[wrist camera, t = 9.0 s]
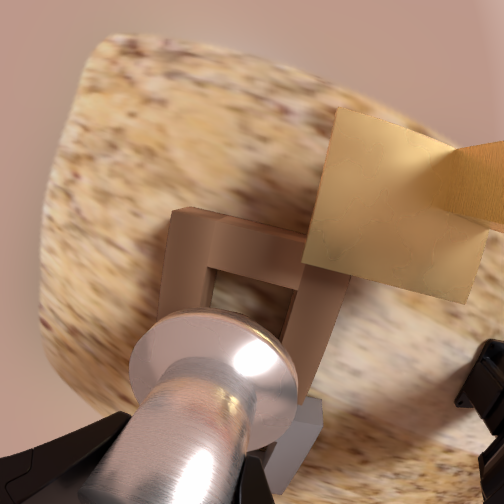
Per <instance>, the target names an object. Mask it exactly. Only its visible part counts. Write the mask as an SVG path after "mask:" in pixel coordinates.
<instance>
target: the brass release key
mask: <svg viewBox="0 0 504 504" xmlns="http://www.w3.org/2000/svg"><path fill="white" fill-rule="evenodd" d="M489 229H491V230H495V231H498V232H501V233H504V141H499V142H493V143H487V144H481V145H476V146H470V147H465V148H460V149H455V148H453V147H451V146H449V145H446V144H444V143H442V142H439V141H437V140H435V139H432V138H430V137H427V136H425V135H422V134H420V133H417V132H415V131H412V130H410V129H407V128H404V127H401V126H399V125H396V124H393V123H390V122H387V121H384V120H381V119H378V118H375V117H372V116H369V115H366V114H362V113H359V112H356V111H352V110H349V109H345V108H342V107H338V109H337V111H336V113H335V118H334V123H333V128H332V132H331V137H330V141H329V146H328V150H327V155H326V159H325V163H324V168H323V172H322V176H321V180H320V185H319V189H318V193H317V197H316V201H315V205H314V209H313V213H312V217H311V221H310V225H309V229H308V233H307V236H306V240H305V244H304V248H303V251H302V255H301V263H305V264H309V265H313V266H317V267H321V268H325V269H329V270H332V271H336V272H340V273H344V274H348V275H352V276H356V277H360V278H363V279H367V280H371V281H375V282H379V283H383V284H387V285H391V286H394V287H398V288H402V289H406V290H410V291H414V292H418V293H421V294H425V295H429V296H433V297H437V298H441V299H444V300H448V301H452V302H456V303H460V304H464V305H465V304H466V301H467V299H468V296H469V293H470V291H471V288H472V285H473V282H474V279H475V276H476V273H477V270H478V267H479V264H480V261H481V258H482V255H483V251H484V248H485V244H486V241H487V237H488V233H489Z"/></svg>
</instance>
